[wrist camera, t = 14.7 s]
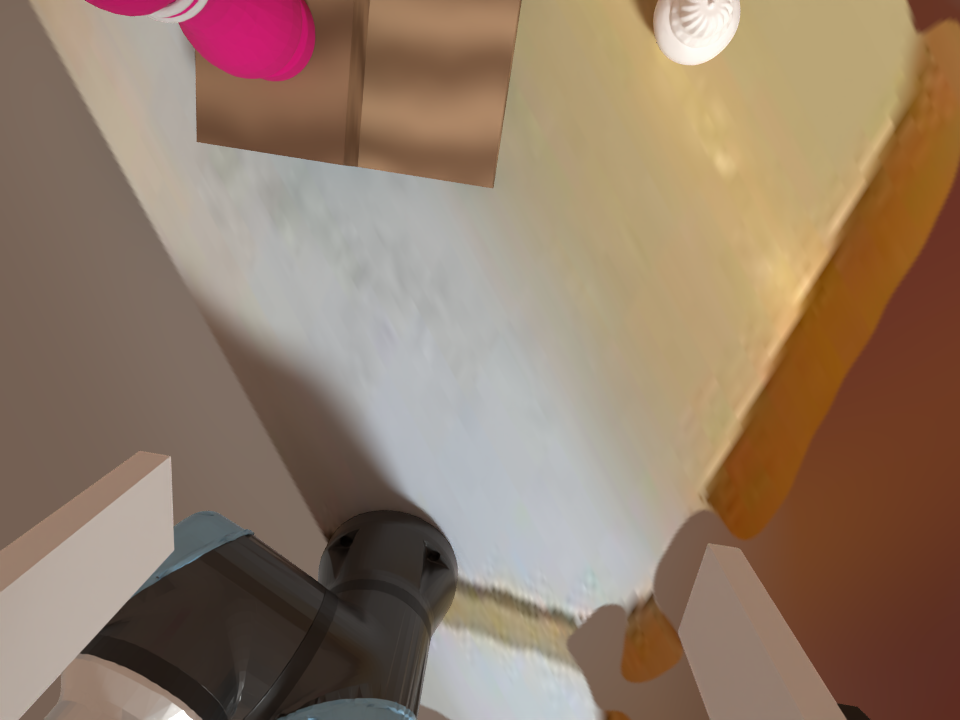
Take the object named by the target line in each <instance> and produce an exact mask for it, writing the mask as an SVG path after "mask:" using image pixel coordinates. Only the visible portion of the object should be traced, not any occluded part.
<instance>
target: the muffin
mask: <svg viewBox="0 0 960 720" xmlns="http://www.w3.org/2000/svg"><path fill="white" fill-rule="evenodd" d="M739 19H740V1H739V0H658V2H657V4H656V7H655V11H654V16H653V27H654V34H655V35H654V36H655V38H656V41H657V42H656V43H657V44H658V46H659V48H660V50H661V51H662V52H663V53H664V55H665V56H666V57H668V58H669V59H670V60H672V61H674V62H676V63H679V64H683V65H697V64H701V63H704V62H706V61H708V60H710V59H712V58H714V57H715V56H716V55H718V54H719V53H720V52H721V51H722V50H723V49H724V48H725V47H726V46H727V45H728V43H729V42H730V41H731V39H732V38H733V36H734V34H735V32H736V30H737V27H738V24H739Z"/></svg>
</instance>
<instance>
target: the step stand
mask: <svg viewBox="0 0 960 720" xmlns="http://www.w3.org/2000/svg"><path fill="white" fill-rule="evenodd" d="M304 1H305V2H306V4H307V6H308V7H309V9H310V12H311V14H312V17H313V21H314V25H315V46H314V50H313V53H312V56H311V58H310V60H309V62H308V63H307V65H306V66H305V67H304V69H303V70H302V71H301V72H300V73H298V74H297V75H295V76H294V77H292V78H290V79H288V80H284V81H267V80H264V79H261V78H259V79H245V78H240V77H236V76H233V75H231V74H228V73H226V72H224V71H223V70H221V69H219V68H217V67H216V66H214V65H212V64H211V63H210V62H208V61H207V60H206V59H205V58H203V57H202V55H201V54H200V53H199V52H198V51H197V50H196V49H195V60H196V121H197V142H201V143H207V144H213V145H220V146H226V147H232V148H238V149H245V150H251V151H257V152H264V153H270V154H276V155H283V156H289V157H295V158H301V159H308V160H314V161H320V162H327V163H333V164H339V165H346V166H356V167H363V168H369V169H375V170H382V171H388V172H394V173H400V174H407V175H413V176H419V177H426V178H432V179H438V180H444V181H451V182H457V183H463V184H470V185H476V186H482V187H489V188H493V187H494V180H495V173H496V167H497V160H498V154H499V147H500V140H501V134H502V127H503V120H504V114H505V107H506V101H507V94H508V87H509V81H510V74H511V67H512V61H513V54H514V48H515V41H516V34H517V28H518V21H519V14H520V8H521V1H522V0H304Z"/></svg>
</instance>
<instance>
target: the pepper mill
mask: <svg viewBox="0 0 960 720" xmlns="http://www.w3.org/2000/svg"><path fill="white" fill-rule="evenodd" d="M85 1H87V2H89V3H90V4H92V5H94V6H96V7H98V8H100V9H103V10H106V11H109V12H112V13H115V14H120V15H127V16H141V15H145V16H147V17H149V18H151V19H153V20H156V21H160V22H166V23H179V25H180V27H181V29H182V31H183V33H184V35H185V36H186V37H187V39H188V40H189V41H190V43H191V44H192V45H193V47H194V48H195V49H196V50H197V51H198V52H199V53H200V54H201V55H202V57H203V58H205V59H206V60H207V61H208V62H210V63H211V64H212V65H214V66H216V67H217V68H219V69H221V70H223V71H224V72H226V73H228V74H231V75H233V76H236V77H240V78H245V79H259V78H261V79H264V80H267V81H284V80H288V79H290V78H292V77H294V76H295V75H297V74H298V73H300V72H301V71H302V70H303V69H304V67H305V66H306V65H307V63H308V62H309V60H310V58H311V56H312V53H313V50H314V46H315V25H314V21H313V17H312V14H311V12H310V9H309V7H308V6H307V4H306V2H305V1H304V0H85Z"/></svg>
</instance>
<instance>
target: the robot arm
mask: <svg viewBox="0 0 960 720" xmlns="http://www.w3.org/2000/svg"><path fill="white" fill-rule="evenodd" d="M172 504H173V502H172V477H171V456H168V455H161V454H155V453H149V452H143V451H139V452H137V453H136V454H135V455H133V456H132V457H131V458H129V459H128V460H126V461H125V462H124V463H122V464H121V465H120V466H118V467H117V468H115V469H114V470H113V471H111V472H110V473H108V474H107V475H105V476H104V477H103V478H101V479H100V480H99V481H97V482H96V483H95V484H93V485H92V486H90V487H89V488H87V489H86V490H85V491H83V492H82V493H81V494H79V495H78V496H76V497H75V498H74V499H72V500H71V501H69V502H68V503H67V504H65V505H64V506H62V507H61V508H60V509H58V510H57V511H55V512H54V513H53V514H51V515H50V516H49V517H47V518H46V519H44V520H43V521H42V522H40V523H39V524H37V525H36V526H35V527H33V528H32V529H31V530H29V531H28V532H26V533H25V534H24V535H22V536H21V537H19V538H18V539H17V540H15V541H14V542H12V543H11V544H10V545H8V546H7V547H5V548H4V549H3V550H1V551H0V720H19V719H20V717H21V716H22V715H23V714H24V713H25V712H26V711H27V710H28V709H29V708H30V707H31V705H32V704H33V703H34V702H35V701H36V700H37V699H38V698H39V697H40V696H41V695H42V693H43V692H44V691H45V690H46V689H47V688H48V687H49V686H50V685H51V684H52V683H53V682H54V680H55V679H56V678H57V677H58V676H59V675H60V674H61V695H60V698H59V701H58V703H57V704H56V706H55V707H54V708H53V709H52V710H51V711H50V713H49V714H48V715H47V716H46V717H45V718H44V719H43V720H417V716H418V711H419V705H420V699H421V693H422V687H423V681H424V675H425V669H426V663H427V657H428V651H429V645H430V640H431V637H432V635H433V634H434V632H435V630H436V629H437V627H438V626H439V624H440V622H441V621H442V619H443V618H444V616H445V614H446V613H447V611H448V610H449V608H450V606H451V604H452V601H453V599H454V595H455V591H456V584H457V576H458V568H457V561H456V558H455V555H454V552H453V550H452V548H451V546H450V545H449V543H448V542H447V540H446V539H445V538H444V537H443V535H442V534H441V533H440V532H439V531H438V530H436V529H435V528H434V527H433V526H431V525H430V524H428V523H427V522H425V521H423V520H421V519H419V518H417V517H415V516H412V515H409V514H406V513H401V512H396V511H374V512H368V513H364V514H361V515H358V516H356V517H354V518H352V519H350V520H348V521H347V522H345V523H344V524H343V525H341V526H340V527H339V528H338V529H337V530H336V531H335V533H334V534H333V535H332V537H331V538H330V540H329V542H328V544H327V546H326V548H325V551H324V552H323V555H322V557H321V561H320V565H319V572H318V581H316V580H315V579H313V578H312V577H311V576H309V575H308V574H307V573H305V572H304V571H302V570H301V569H300V568H298V567H297V566H296V565H294V564H292V563H291V562H290V561H289V560H287V559H286V558H285V557H283V556H282V555H280V554H279V553H278V552H276V551H275V550H273V549H272V548H271V547H269V546H268V545H267V544H265V543H264V542H262V541H261V540H260V539H258V538H257V537H256V536H254V532H252V531H251V530H248V529H246V530H244V529H243V528H241V527H240V526H238V525H237V524H235V523H233V522H232V521H230V520H229V519H227V518H226V517H224V516H222V515H221V514H219V513H217V512H213V511H202V512H198V513H195V514H193V515H191V516H189V517H187V518H185V519H184V520H182V521H181V522H179V523H178V524H176V525H175V526H174V527H173V505H172ZM678 634H679V637H680V640H681V643H682V645H683V648H684V651H685V653H686V656H687V659H688V661H689V664H690V667H691V670H692V672H693V675H694V678H695V680H696V683H697V686H698V688H699V691H700V694H701V696H702V699H703V702H704V705H705V707H706V710H707V713H708V715H709V718H710V720H870V719H869V718H868V717H867V716H866V715H865V714H864V713H863V712H862V711H861V710H860V709H859V708H858V707H855V706H849V705H843V704H837V703H836V702H835V700H834V698H833V697H832V695H831V694H830V692H829V691H828V689H827V687H826V686H825V684H824V683H823V681H822V679H821V678H820V676H819V674H818V673H817V671H816V670H815V668H814V666H813V665H812V663H811V662H810V660H809V659H808V657H807V655H806V654H805V652H804V650H803V649H802V647H801V646H800V644H799V642H798V641H797V639H796V638H795V636H794V634H793V633H792V631H791V630H790V628H789V627H788V625H787V623H786V622H785V620H784V619H783V617H782V615H781V614H780V612H779V611H778V609H777V607H776V606H775V604H774V602H773V601H772V599H771V598H770V596H769V595H768V593H767V591H766V590H765V588H764V586H763V585H762V583H761V582H760V580H759V579H758V577H757V575H756V574H755V572H754V570H753V569H752V567H751V566H750V564H749V562H748V561H747V559H746V558H745V556H744V554H743V553H742V551H741V550H740V548H735V547H728V546H722V545H716V544H709V543H708V545H707V548H706V551H705V554H704V557H703V560H702V563H701V566H700V568H699V571H698V574H697V577H696V580H695V583H694V586H693V589H692V592H691V595H690V598H689V601H688V604H687V607H686V610H685V612H684V615H683V618H682V621H681V624H680V627H679V630H678Z"/></svg>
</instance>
